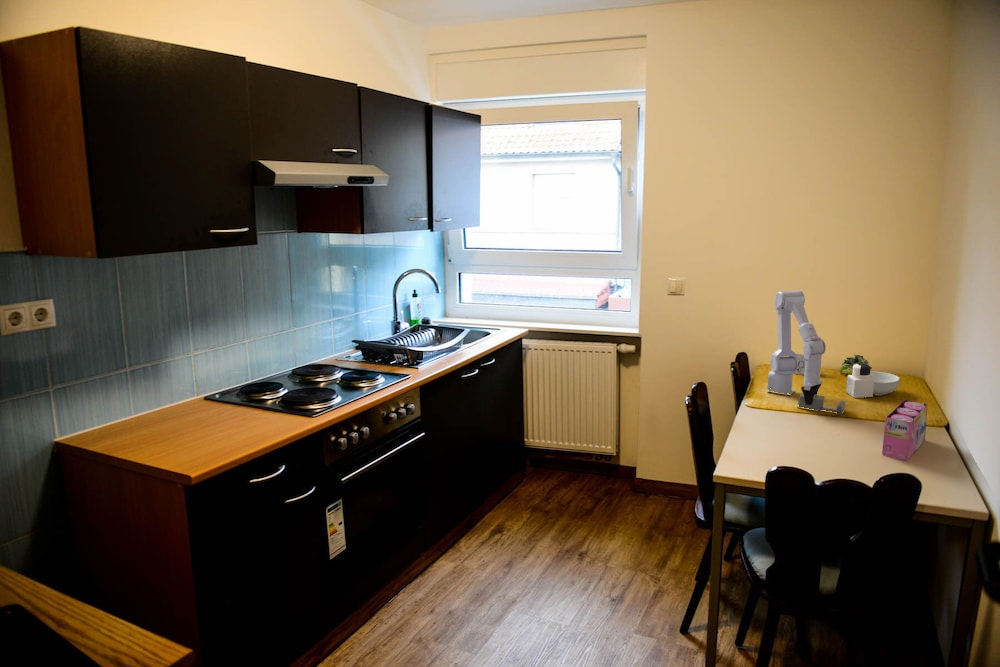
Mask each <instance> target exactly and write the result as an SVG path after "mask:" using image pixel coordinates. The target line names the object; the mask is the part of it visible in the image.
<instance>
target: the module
mask: <svg viewBox="0 0 1000 667" xmlns="http://www.w3.org/2000/svg"><path fill="white" fill-rule="evenodd" d="M798 397H799V398H798V400H799V401H798V403H799V407H804V408H809V409H814V410H818V411H820V410H821V406H824V403H825V402H824V401H825V395H819V394H817V395H814V397H813V402H812V404H811V405H806V404H805V399H804V394H803V392H802V393H801V394H800V395H799V396H798ZM799 407H798V408H799ZM820 412H821V411H820Z"/></svg>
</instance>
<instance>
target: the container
mask: <svg viewBox="0 0 1000 667" xmlns="http://www.w3.org/2000/svg"><path fill="white" fill-rule="evenodd" d="M871 367H872V366H870V365H869V366H868V365H866V364H855V365H854V366H853V372H852V373H851V374H848V375H847V382H846V390H845V391H846V393H847V394H849V396H851V397H852V398H853V397H854V399H859V398H860V399H864V397H865V399H867V398H866V397H872V398H874V395H873V388H874V380H873V379H872V378H870V377H869V376H870V371H871V370H872V369H871Z"/></svg>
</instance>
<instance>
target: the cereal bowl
mask: <svg viewBox="0 0 1000 667" xmlns="http://www.w3.org/2000/svg"><path fill="white" fill-rule="evenodd" d="M869 377H870V378H872V379H873V380H874V388H873V394H877V395H876V396H884V395H883V394H885V395H887V394H890V393H893V392H894V391H896V390H897V389H898V388H899V385H900V377H899V376H898V375H895V374H893V373H889V372H884V371H874V370H873V371H871V370H870V376H869ZM878 394H879V395H878Z"/></svg>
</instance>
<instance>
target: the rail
mask: <svg viewBox="0 0 1000 667" xmlns="http://www.w3.org/2000/svg"><path fill="white" fill-rule="evenodd" d="M797 405H799V402H798V403H797ZM845 406H846V401H844V400H840V402H839V403H838V404H837V405H836V407H831V406H825V405H823V406H821V410H826V411H832V412H837V414H836V413H835V415H836V416H837V417H841V416H842V415H843V414H842V412H843V411H844V412H845V410H844V409H845V408H846V407H845ZM844 412H843V413H844ZM841 414H842V415H841Z"/></svg>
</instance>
